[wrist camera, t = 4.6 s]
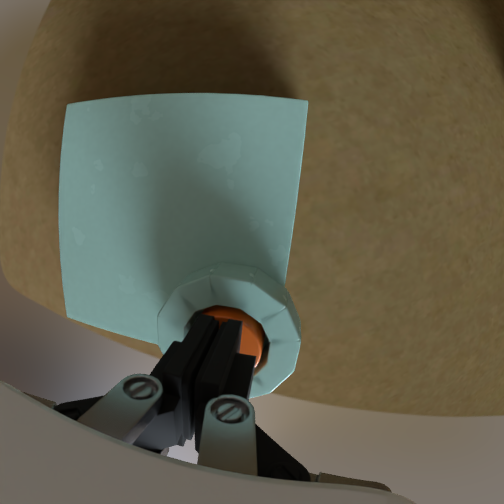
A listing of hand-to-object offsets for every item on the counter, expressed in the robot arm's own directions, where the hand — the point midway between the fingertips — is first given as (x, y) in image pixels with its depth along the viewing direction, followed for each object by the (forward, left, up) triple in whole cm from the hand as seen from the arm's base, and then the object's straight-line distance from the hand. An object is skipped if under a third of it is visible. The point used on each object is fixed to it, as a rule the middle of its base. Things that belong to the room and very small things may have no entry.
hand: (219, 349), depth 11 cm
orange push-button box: (+4, -4, -6) cm, 8 cm away
